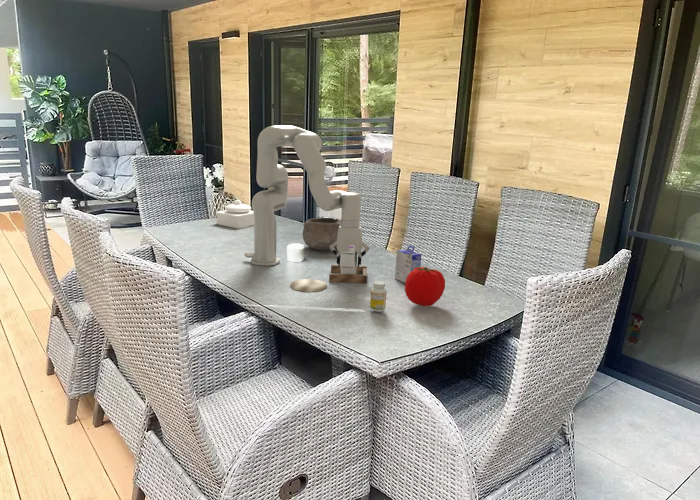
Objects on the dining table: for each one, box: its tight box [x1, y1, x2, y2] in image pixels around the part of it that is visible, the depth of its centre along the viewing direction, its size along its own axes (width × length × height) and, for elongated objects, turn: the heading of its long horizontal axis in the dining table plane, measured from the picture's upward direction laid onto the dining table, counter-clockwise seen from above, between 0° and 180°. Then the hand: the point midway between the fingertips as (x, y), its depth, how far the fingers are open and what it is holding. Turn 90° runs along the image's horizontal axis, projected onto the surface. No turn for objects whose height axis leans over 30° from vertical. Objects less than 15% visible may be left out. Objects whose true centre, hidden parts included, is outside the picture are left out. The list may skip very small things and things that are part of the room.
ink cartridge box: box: [394, 244, 422, 284], centre depth 215 cm, size 10×6×14 cm, turn 34°
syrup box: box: [340, 245, 358, 274], centre depth 217 cm, size 6×6×14 cm
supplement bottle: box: [369, 280, 387, 312], centre depth 183 cm, size 5×5×10 cm
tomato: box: [404, 266, 446, 307], centre depth 190 cm, size 16×14×14 cm
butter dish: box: [215, 199, 254, 230], centre depth 304 cm, size 18×18×16 cm
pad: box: [290, 278, 328, 293], centre depth 205 cm, size 14×14×1 cm
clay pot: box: [302, 217, 341, 251], centre depth 260 cm, size 21×21×15 cm
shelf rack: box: [328, 264, 368, 284], centre depth 219 cm, size 15×14×3 cm
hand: (348, 265), depth 218 cm, fingers open, 7 cm apart
